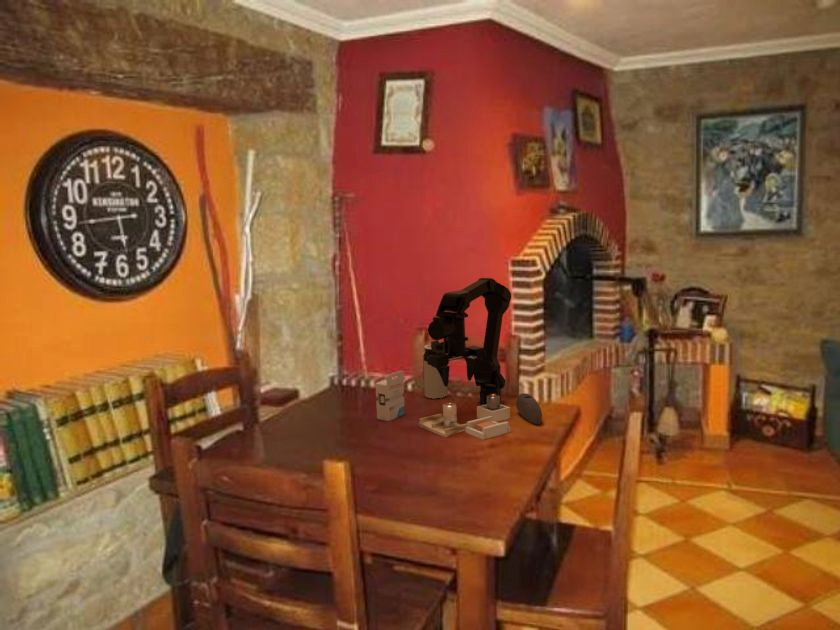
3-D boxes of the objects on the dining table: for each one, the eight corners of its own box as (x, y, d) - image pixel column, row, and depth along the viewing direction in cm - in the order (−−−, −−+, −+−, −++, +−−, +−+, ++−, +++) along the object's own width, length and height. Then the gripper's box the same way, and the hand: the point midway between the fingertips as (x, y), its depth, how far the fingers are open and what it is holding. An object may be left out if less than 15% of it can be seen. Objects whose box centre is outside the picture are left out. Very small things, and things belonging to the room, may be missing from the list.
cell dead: (494, 415, 204) (493, 391, 203) (502, 418, 200) (502, 394, 199) (484, 417, 202) (483, 393, 200) (492, 420, 198) (492, 396, 197)
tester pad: (488, 428, 191) (488, 421, 191) (499, 432, 187) (499, 425, 187) (476, 431, 189) (475, 424, 188) (486, 436, 185) (486, 428, 184)
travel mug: (420, 397, 228) (419, 347, 225) (431, 392, 235) (429, 343, 232) (441, 400, 224) (440, 348, 221) (451, 394, 231) (449, 344, 228)
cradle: (491, 426, 194) (491, 415, 194) (510, 433, 188) (509, 422, 187) (465, 433, 189) (465, 422, 188) (483, 441, 182) (483, 429, 182)
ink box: (393, 412, 212) (391, 367, 210) (405, 414, 209) (403, 369, 207) (376, 419, 205) (374, 373, 203) (388, 421, 202) (386, 375, 200)
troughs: (442, 420, 202) (441, 413, 202) (469, 431, 191) (469, 423, 191) (418, 425, 197) (418, 418, 197) (445, 437, 186) (444, 430, 186)
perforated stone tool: (547, 427, 192) (547, 404, 191) (530, 429, 191) (529, 406, 190) (531, 412, 207) (531, 391, 206) (515, 414, 206) (515, 392, 205)
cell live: (451, 424, 194) (450, 400, 193) (459, 428, 191) (459, 403, 190) (440, 427, 192) (440, 402, 191) (448, 430, 189) (448, 405, 187)
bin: (494, 414, 206) (494, 402, 205) (510, 420, 200) (510, 407, 200) (477, 419, 202) (476, 406, 201) (492, 424, 196) (492, 411, 196)
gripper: (462, 325, 210) (464, 372, 213) (415, 335, 199) (418, 384, 202) (485, 330, 201) (487, 379, 204) (437, 340, 190) (439, 391, 193)
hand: (457, 383), depth 201 cm, fingers open, 9 cm apart
